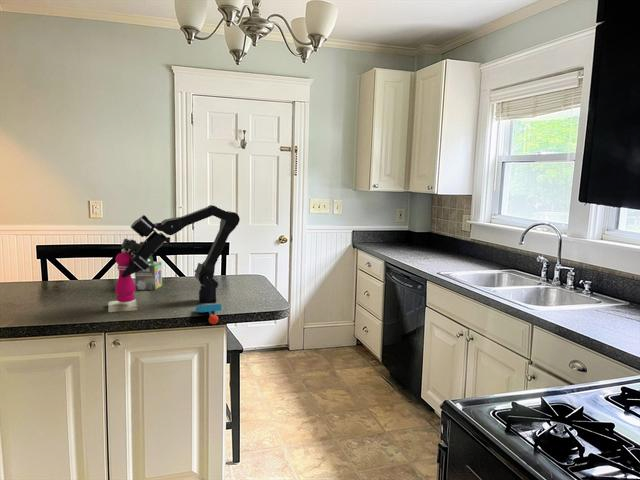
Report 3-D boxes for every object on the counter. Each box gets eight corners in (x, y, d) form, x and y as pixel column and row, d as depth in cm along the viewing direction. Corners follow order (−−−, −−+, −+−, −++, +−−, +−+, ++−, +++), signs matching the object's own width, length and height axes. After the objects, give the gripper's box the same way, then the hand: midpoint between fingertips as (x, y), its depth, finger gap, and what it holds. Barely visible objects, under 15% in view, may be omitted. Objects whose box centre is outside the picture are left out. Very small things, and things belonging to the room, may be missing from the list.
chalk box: (162, 286, 217) (162, 254, 215) (155, 290, 208) (154, 258, 206) (142, 285, 217) (142, 253, 215) (134, 290, 208) (134, 257, 206)
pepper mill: (132, 302, 175) (130, 250, 172) (112, 302, 174) (110, 249, 171) (138, 297, 182) (136, 247, 179) (119, 297, 181) (117, 246, 178)
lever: (196, 324, 179) (204, 325, 162) (195, 306, 179) (203, 305, 163) (214, 322, 181) (224, 323, 165) (213, 304, 182) (223, 303, 166)
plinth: (135, 303, 187) (135, 299, 187) (137, 310, 178) (137, 306, 178) (108, 305, 183) (108, 301, 183) (108, 312, 174) (108, 308, 174)
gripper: (131, 228, 184) (102, 257, 181) (138, 234, 168) (106, 266, 165) (152, 246, 189) (124, 275, 186) (161, 254, 173) (130, 286, 169)
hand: (121, 275), depth 176 cm, fingers closed on pepper mill, 5 cm apart
